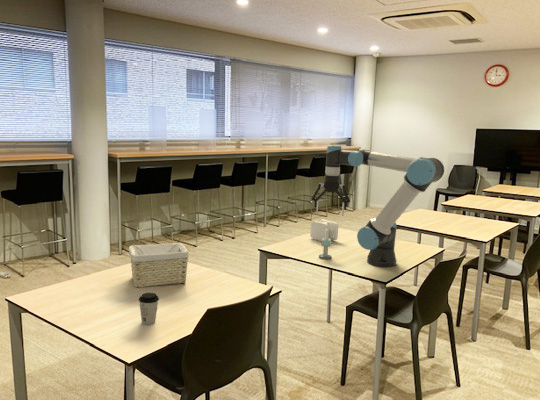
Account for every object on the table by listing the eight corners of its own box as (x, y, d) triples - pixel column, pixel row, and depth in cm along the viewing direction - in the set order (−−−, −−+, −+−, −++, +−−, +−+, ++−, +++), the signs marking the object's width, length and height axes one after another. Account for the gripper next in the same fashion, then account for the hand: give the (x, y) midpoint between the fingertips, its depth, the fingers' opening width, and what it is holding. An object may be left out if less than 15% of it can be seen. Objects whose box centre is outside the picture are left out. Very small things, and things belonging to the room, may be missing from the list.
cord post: (331, 256, 262) (333, 228, 259) (331, 260, 255) (333, 231, 252) (319, 255, 263) (321, 227, 260) (318, 259, 256) (320, 230, 253)
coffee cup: (142, 328, 165) (142, 300, 163) (135, 320, 170) (135, 293, 169) (161, 323, 169) (162, 296, 167) (154, 316, 175) (154, 290, 173)
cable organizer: (308, 238, 299) (309, 219, 297) (320, 236, 306) (321, 218, 304) (326, 243, 288) (327, 224, 286) (338, 241, 295) (339, 223, 293)
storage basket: (132, 289, 200) (132, 255, 197) (128, 276, 215) (128, 244, 212) (189, 284, 209) (189, 251, 206) (181, 272, 224) (182, 242, 221)
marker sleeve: (330, 244, 260) (330, 238, 259) (330, 246, 255) (330, 240, 255) (322, 243, 260) (322, 238, 260) (321, 245, 256) (322, 240, 255)
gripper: (355, 175, 256) (352, 214, 259) (308, 172, 258) (306, 211, 261) (356, 176, 248) (353, 217, 252) (308, 174, 250) (306, 214, 254)
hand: (329, 214), depth 257 cm, fingers open, 13 cm apart
